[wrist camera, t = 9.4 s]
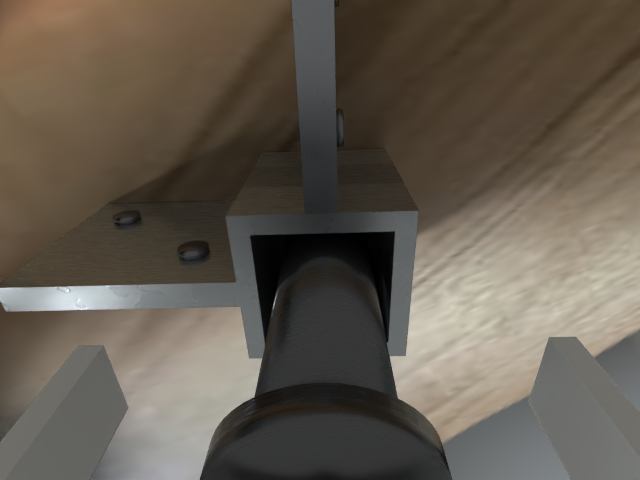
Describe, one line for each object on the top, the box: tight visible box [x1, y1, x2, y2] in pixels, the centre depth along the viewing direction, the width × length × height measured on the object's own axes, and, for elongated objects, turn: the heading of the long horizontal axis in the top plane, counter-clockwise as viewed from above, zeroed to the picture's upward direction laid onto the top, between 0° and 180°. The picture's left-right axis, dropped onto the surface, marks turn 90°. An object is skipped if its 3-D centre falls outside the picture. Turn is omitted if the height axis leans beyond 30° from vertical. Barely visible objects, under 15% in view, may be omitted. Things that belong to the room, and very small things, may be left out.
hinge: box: [0, 0, 419, 358], centre depth 17 cm, size 17×17×9 cm
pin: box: [200, 232, 452, 480], centre depth 16 cm, size 6×6×17 cm
